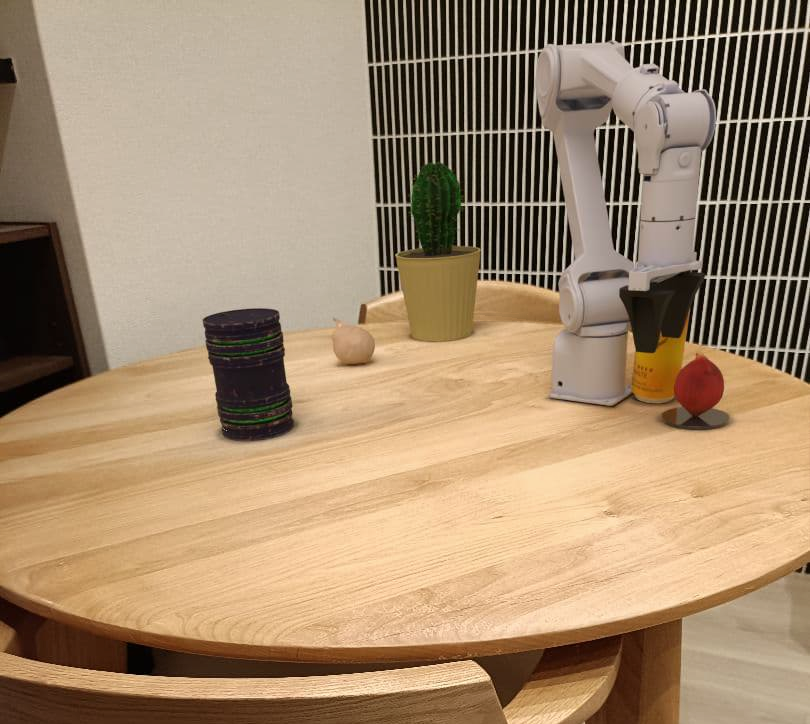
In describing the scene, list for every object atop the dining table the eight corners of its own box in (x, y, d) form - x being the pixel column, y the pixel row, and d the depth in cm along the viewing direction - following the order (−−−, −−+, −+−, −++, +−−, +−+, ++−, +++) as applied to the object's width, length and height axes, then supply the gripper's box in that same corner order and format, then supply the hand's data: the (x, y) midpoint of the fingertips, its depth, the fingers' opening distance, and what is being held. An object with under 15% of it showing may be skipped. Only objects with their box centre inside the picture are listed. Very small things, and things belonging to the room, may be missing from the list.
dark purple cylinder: (308, 420, 112) (295, 308, 105) (269, 444, 104) (251, 325, 98) (248, 414, 116) (231, 307, 109) (206, 437, 108) (185, 323, 102)
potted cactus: (394, 345, 148) (380, 163, 135) (407, 326, 162) (397, 159, 148) (479, 343, 145) (474, 157, 132) (485, 324, 159) (482, 153, 146)
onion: (721, 409, 103) (727, 346, 99) (720, 424, 98) (728, 358, 95) (672, 408, 105) (677, 345, 101) (670, 422, 100) (675, 357, 97)
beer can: (624, 389, 113) (636, 278, 104) (667, 385, 113) (682, 275, 105) (639, 406, 107) (652, 292, 99) (684, 403, 108) (701, 288, 100)
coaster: (651, 424, 101) (651, 421, 101) (675, 406, 107) (675, 403, 107) (716, 433, 97) (716, 430, 96) (738, 414, 102) (738, 411, 102)
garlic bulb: (353, 357, 142) (348, 310, 138) (382, 360, 139) (378, 312, 135) (328, 366, 137) (323, 318, 134) (358, 370, 134) (353, 321, 130)
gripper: (679, 227, 81) (668, 362, 87) (727, 211, 91) (715, 333, 97) (612, 227, 85) (607, 356, 91) (665, 211, 95) (657, 329, 101)
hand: (658, 344), depth 95 cm, fingers open, 7 cm apart
